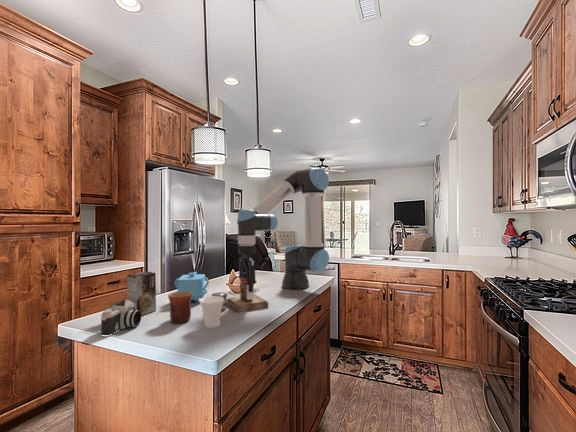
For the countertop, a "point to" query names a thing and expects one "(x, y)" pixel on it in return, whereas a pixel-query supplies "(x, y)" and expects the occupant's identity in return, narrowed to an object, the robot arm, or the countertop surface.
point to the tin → (224, 295)
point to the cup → (211, 310)
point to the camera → (119, 317)
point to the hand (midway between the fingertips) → (247, 297)
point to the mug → (180, 306)
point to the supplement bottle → (244, 286)
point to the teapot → (193, 285)
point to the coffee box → (142, 291)
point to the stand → (246, 303)
